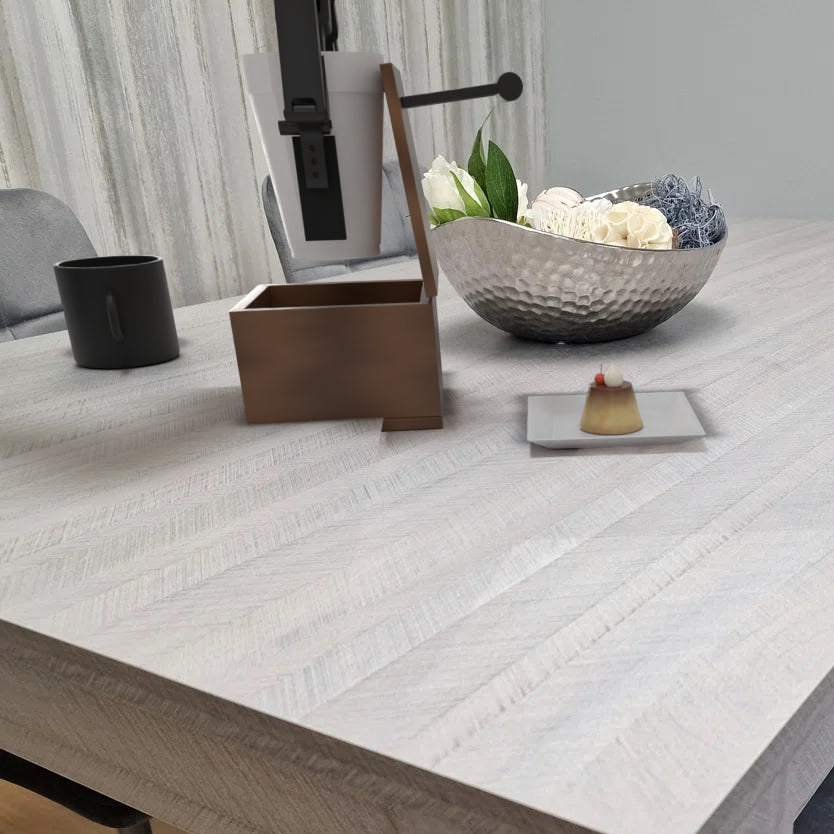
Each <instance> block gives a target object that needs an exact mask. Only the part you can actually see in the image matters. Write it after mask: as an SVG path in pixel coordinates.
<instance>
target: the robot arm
mask: <svg viewBox="0 0 834 834" xmlns="http://www.w3.org/2000/svg"><path fill="white" fill-rule="evenodd" d="M336 5H337V4H336V0H273V6H274V7H273V8H274V20H275V28H276V38H277V46H278V47H277V48H278V52H279V58H280V68H281V78H282V88H283V98H284V110H283V114H284V118H285V120H281V121H278V127H279V132H280V135H281V136H284V135H300V136H292V142H293V150H294V158H295V165H296V173H297V180H298V188H299V196H300V203H301V211H302V218H303V226H304V234H305V241H329V240H346V239H347V235H346V226H345V218H344V209H343V200H342V192H341V183H340V174H339V166H338V157H337V148H336V140H335V135H331V136H324V135H329V134H331V129H332V120H330V109H329V94H328V87H327V79H326V70H325V62H324V55H322V56H321V51H339V49H340V48H339V42H338V38H339V30H340V29H339V28H340V26H339V19H338V12H337V6H336Z"/></svg>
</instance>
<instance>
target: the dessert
mask: <svg viewBox="0 0 834 834" xmlns="http://www.w3.org/2000/svg"><path fill="white" fill-rule="evenodd" d="M602 366H603V364H602V363H600V371H602ZM623 375H624V374H623V373H622V372H621V370H619V369H618V367H617V366H615V364H614V363H611V365H610V367H609V368H608V370H607V371H606V372H605V373H596V374H595V375H594V377H593V380H594V381H592V382H590V383H589V385H588V388H587V392H586V394H559V395H556V394H555V395H530V396H527V424H526V440H527V442H530V443H532V444H535V445H538V446H541V447H544V448H547V449H549V450H559V449H560V450H561V449H585V448H586V449H590V448H617V447H618V448H619V447H621V448H622V447H648V446H649V447H650V446H651V447H652V446H680V445H683V444H687V443H688V442H692V441H694V440H697V439H699V438H702V437H704V436H706V435H707V434H706V431H705V429H704V427H703V426H702V424H701V422H700V420H699V418H698V416H697V415H696V413H695V411H694V409H693V408H692V406H691V403H690V402H689V399H688V398H687V396H686V395H685V392H684V391H656V392H653V391H652V392H651V391H650V392H635V390H634V387H633V383H632V382H630V381H628V380H624V376H623Z"/></svg>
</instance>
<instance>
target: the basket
mask: <svg viewBox="0 0 834 834" xmlns="http://www.w3.org/2000/svg"><path fill="white" fill-rule="evenodd" d="M437 303H438V302H437V296H435V297H429V298H427V297H426V293H425V288H424V283H423V278H404V279H403V278H402V279H375V280H348V281H347V280H345V281H319V282H317V281H316V282H294V283H293V282H292V283H288V282H287V283H264V284H263V283H261V284H257V286H256V287H255V288H254V289H252V290H251V291H250V292H249V293H248V294H247V295H246V296H244V297H243V298H242V299H241V300H240V301H239V302H237V304H236V305H235V306H233V308H231V309H230V310H229V311H228V314H229V321H230V327H231V334H232V340H233V345H234V346H233V347H234V351H235V359H236V364H237V369H238V376H239V382H240V388H241V389H240V390H241V394H242V401H243V407H244V413H245V420H246V424H247V425H257V424H275V423H277V424H279V423H294V422H295V423H296V422H297V423H298V422H315V421H317V422H318V421H335V420H354V419H355V420H357V419H374V418H375V419H376V418H383V420H382V425H381V430H380V431H381V432H390V431H410V430H411V431H412V430H429V429H443V428H444V378H443V366H442V353H441V341H440V340H441V339H440V329H439V317H438V316H439V315H438V304H437Z"/></svg>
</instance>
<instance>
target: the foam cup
mask: <svg viewBox="0 0 834 834" xmlns="http://www.w3.org/2000/svg"><path fill="white" fill-rule="evenodd" d="M322 55H324V62H325V70H326V79H327V87H328V94H329V109H330V120H332V129H331V134H329V135H324V136H331V135H335V140H336V148H337V157H338V166H339V174H340V183H341V192H342V200H343V209H344V218H345V226H346V235H347V239H346V240H329V241H305V234H304V226H303V218H302V211H301V203H300V196H299V188H298V180H297V173H296V165H295V158H294V150H293V142H292V136H300V135H284V136H281V135H280V132H279V127H278V121H281V120H285V118H284V114H283V110H284V98H283V88H282V78H281V68H280V58H279V51H274V52H273V51H270V52H254V53H246V54H242V55H239V59H240V60H239V61H240V66H241V74H242V81H243V87H244V93H245V95H246V96H248V97H249V102H250V105H251V109H252V112H253V117H254V120H255V125H256V128H257V132H258V135H259V139H260V142H261V146H262V150H263V154H264V158H265V162H266V165H267V169H268V173H269V177H270V180H271V185H272V186H273V192H274V195H275V199H276V202H277V206H278V211H279V214H280V217H281V222H282V225H283V229H284V233H285V237H286V239H287V241H286V242H287V244H288V247H289V249H290V253H291V258H292V259H295V260H297V261H298V260H299V261H314V262H315V261H316V262H317V261H319V262H320V261H321V262H322V261H325V262H327V261H343V260H344V261H347V260H358V259H366V258H371V257H376V256H379V255H380V254H381V253H382V252H381V244H382V215H383V214H382V213H383V212H382V211H383V209H382V208H383V167H384V166H383V162H384V161H383V159H384V115H385V112H384V110H385V109H384V108H385V90H384V85H383V80H382V75H381V70H380V66H379V65H380V64H383V63H385V61H384V54H382V53H379V52H367V51H341V50H340V51H321V56H322Z"/></svg>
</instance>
